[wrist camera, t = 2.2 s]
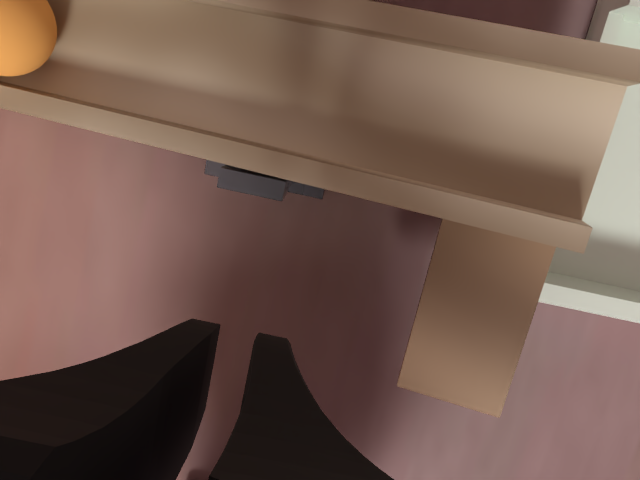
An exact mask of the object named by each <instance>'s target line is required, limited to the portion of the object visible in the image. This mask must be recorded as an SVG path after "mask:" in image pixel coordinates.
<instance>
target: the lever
mask: <svg viewBox="0 0 640 480" xmlns="http://www.w3.org/2000/svg"><path fill="white" fill-rule="evenodd" d="M47 1H48V3H49V5H50V7H51V8H52V11H53V13H54V16H55V20H56V25H57V40H56V44H55V47H54V50H53V52H52V54H51V56H50V57H49V59H48V60H47V61H46V62H45V63H44V64H43V65H42V66H41V67H39V68H38V69H36V70H34V71H32V72H30V73H27V74H24V75H20V76H0V108H2V109H6V110H10V111H14V112H18V113H22V114H26V115H30V116H34V117H38V118H42V119H46V120H50V121H54V122H58V123H62V124H66V125H70V126H74V127H78V128H82V129H86V130H90V131H94V132H98V133H102V134H106V135H110V136H114V137H118V138H122V139H126V140H130V141H134V142H138V143H142V144H146V145H150V146H154V147H158V148H162V149H166V150H170V151H174V152H178V153H182V154H186V155H190V156H194V157H198V158H202V159H206V160H210V161H214V162H218V163H222V164H226V165H230V166H234V167H238V168H242V169H246V170H250V171H254V172H258V173H262V174H266V175H270V176H274V177H278V178H282V179H286V180H290V181H294V182H298V183H302V184H306V185H310V186H314V187H318V188H322V189H326V190H330V191H334V192H338V193H342V194H346V195H350V196H354V197H358V198H362V199H366V200H370V201H374V202H378V203H382V204H386V205H390V206H394V207H398V208H402V209H406V210H410V211H414V212H418V213H422V214H426V215H430V216H434V217H438V218H442V221H441V225H440V228H439V232H438V236H437V239H436V243H435V247H434V250H433V254H432V258H431V261H430V265H429V268H428V272H427V276H426V279H425V283H424V287H423V290H422V294H421V298H420V301H419V305H418V309H417V312H416V316H415V319H414V323H413V327H412V330H411V334H410V338H409V341H408V345H407V349H406V352H405V356H404V359H403V363H402V367H401V370H400V374H399V378H398V383H397V386H398V387H401V388H404V389H408V390H411V391H414V392H417V393H421V394H424V395H427V396H430V397H433V398H437V399H440V400H443V401H446V402H450V403H453V404H456V405H459V406H462V407H466V408H469V409H472V410H475V411H479V412H482V413H485V414H488V415H491V416H495V417H498V418H500V415H501V412H502V409H503V406H504V403H505V400H506V397H507V394H508V391H509V388H510V385H511V382H512V379H513V376H514V373H515V370H516V367H517V364H518V361H519V358H520V354H521V351H522V348H523V345H524V342H525V339H526V336H527V333H528V330H529V327H530V324H531V321H532V318H533V315H534V312H535V309H536V306H537V303H538V300H539V297H540V294H541V291H542V288H543V285H544V282H545V279H546V276H547V273H548V270H549V267H550V264H551V261H552V258H553V255H554V252H555V249H556V247H558V248H562V249H566V250H570V251H574V252H578V253H582V254H584V252H585V249H586V246H587V243H588V240H589V237H590V234H591V231H592V229H593V228H592V227H591V226H589V225H588V224H587V223H585V222H584V221H582V218H583V216H584V213H585V210H586V207H587V204H588V201H589V198H590V195H591V192H592V189H593V186H594V183H595V180H596V177H597V174H598V171H599V168H600V166H601V163H602V160H603V157H604V154H605V151H606V148H607V145H608V142H609V139H610V136H611V133H612V130H613V127H614V124H615V121H616V119H617V116H618V113H619V110H620V107H621V104H622V101H623V98H624V95H625V92H626V89H627V86H631V85H635V84H639V83H640V49H635V48H629V47H624V46H618V45H613V44H607V43H602V42H596V41H591V40H585V39H580V38H574V37H569V36H563V35H558V34H552V33H547V32H541V31H536V30H530V29H525V28H519V27H514V26H508V25H503V24H497V23H492V22H486V21H480V20H475V19H469V18H464V17H458V16H453V15H447V14H442V13H436V12H431V11H425V10H420V9H414V8H409V7H403V6H398V5H392V4H387V3H381V2H376V1H370V0H47Z"/></svg>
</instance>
